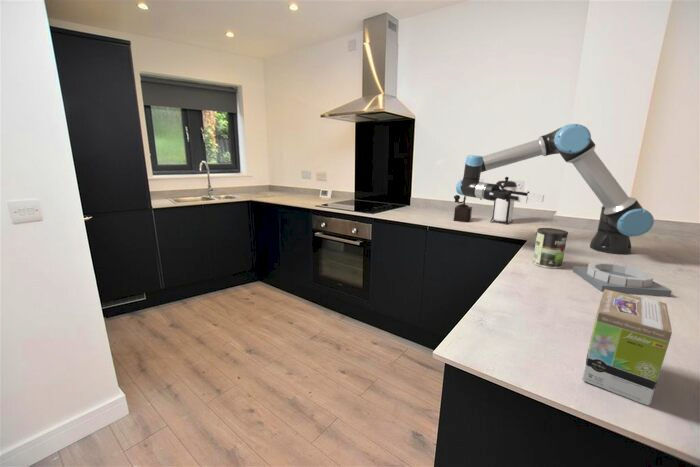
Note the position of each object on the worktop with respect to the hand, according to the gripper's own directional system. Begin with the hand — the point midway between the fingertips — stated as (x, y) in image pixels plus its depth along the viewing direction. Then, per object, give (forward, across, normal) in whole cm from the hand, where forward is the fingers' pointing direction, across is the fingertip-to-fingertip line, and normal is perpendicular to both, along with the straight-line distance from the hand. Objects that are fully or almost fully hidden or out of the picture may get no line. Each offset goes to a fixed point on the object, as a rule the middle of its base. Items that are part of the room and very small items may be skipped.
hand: (535, 199), depth 128 cm
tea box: (+49, +60, -25) cm, 81 cm away
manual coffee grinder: (-65, -47, -28) cm, 85 cm away
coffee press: (-48, -67, -26) cm, 87 cm away
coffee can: (+10, 0, -25) cm, 27 cm away
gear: (-3, -24, -25) cm, 35 cm away
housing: (+32, 0, -24) cm, 40 cm away
